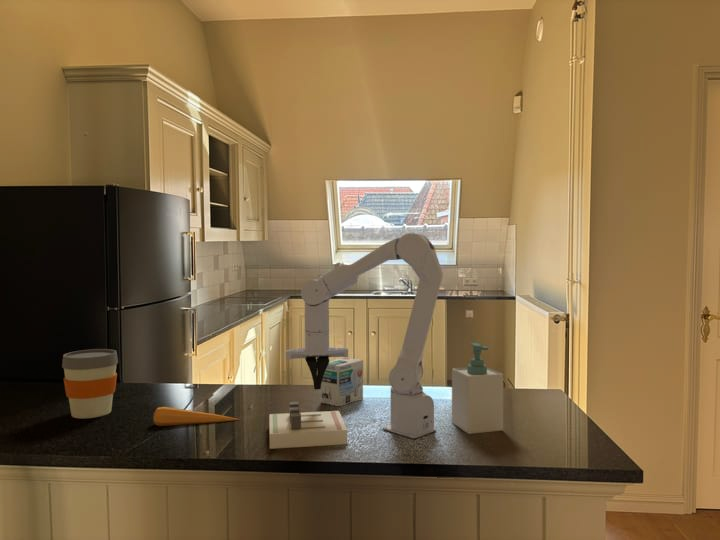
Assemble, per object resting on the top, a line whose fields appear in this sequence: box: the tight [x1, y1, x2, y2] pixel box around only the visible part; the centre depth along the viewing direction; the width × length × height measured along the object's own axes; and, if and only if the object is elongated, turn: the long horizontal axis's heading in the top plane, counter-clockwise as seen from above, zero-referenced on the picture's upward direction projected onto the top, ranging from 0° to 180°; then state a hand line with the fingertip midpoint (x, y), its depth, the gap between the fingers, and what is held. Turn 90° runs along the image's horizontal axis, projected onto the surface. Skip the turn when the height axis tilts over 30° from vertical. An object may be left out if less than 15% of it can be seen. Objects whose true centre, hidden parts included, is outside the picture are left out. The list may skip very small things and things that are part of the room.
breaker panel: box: [268, 401, 348, 450], centre depth 121 cm, size 16×14×6 cm
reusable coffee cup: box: [61, 348, 119, 419], centre depth 138 cm, size 13×13×15 cm
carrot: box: [152, 406, 242, 427], centre depth 131 cm, size 20×4×4 cm, turn 100°
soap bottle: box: [451, 342, 504, 435], centre depth 127 cm, size 9×9×19 cm
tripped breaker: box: [289, 406, 300, 422], centre depth 121 cm, size 2×2×3 cm
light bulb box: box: [320, 357, 364, 407], centre depth 149 cm, size 11×7×11 cm, turn 143°
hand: (317, 388), depth 130 cm, fingers closed
